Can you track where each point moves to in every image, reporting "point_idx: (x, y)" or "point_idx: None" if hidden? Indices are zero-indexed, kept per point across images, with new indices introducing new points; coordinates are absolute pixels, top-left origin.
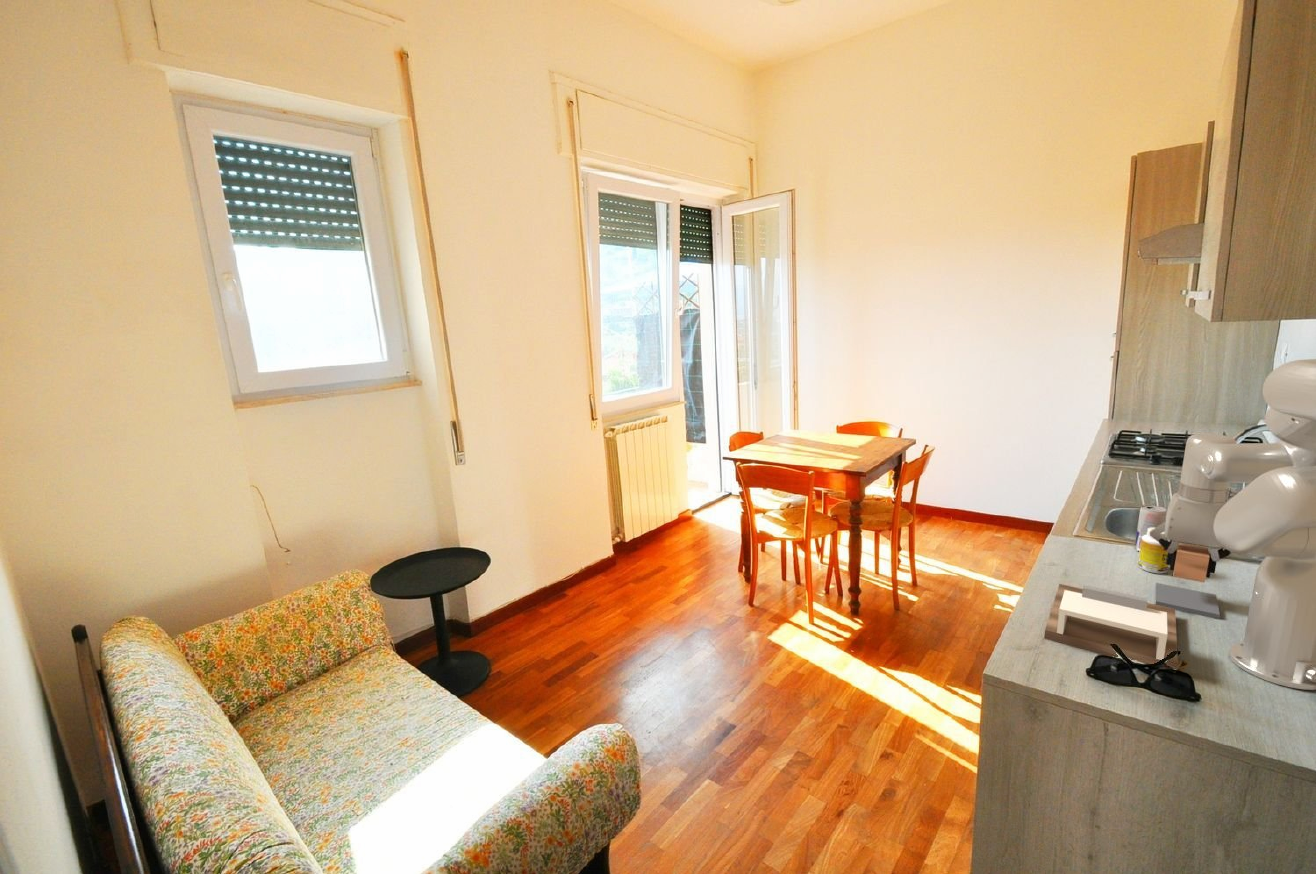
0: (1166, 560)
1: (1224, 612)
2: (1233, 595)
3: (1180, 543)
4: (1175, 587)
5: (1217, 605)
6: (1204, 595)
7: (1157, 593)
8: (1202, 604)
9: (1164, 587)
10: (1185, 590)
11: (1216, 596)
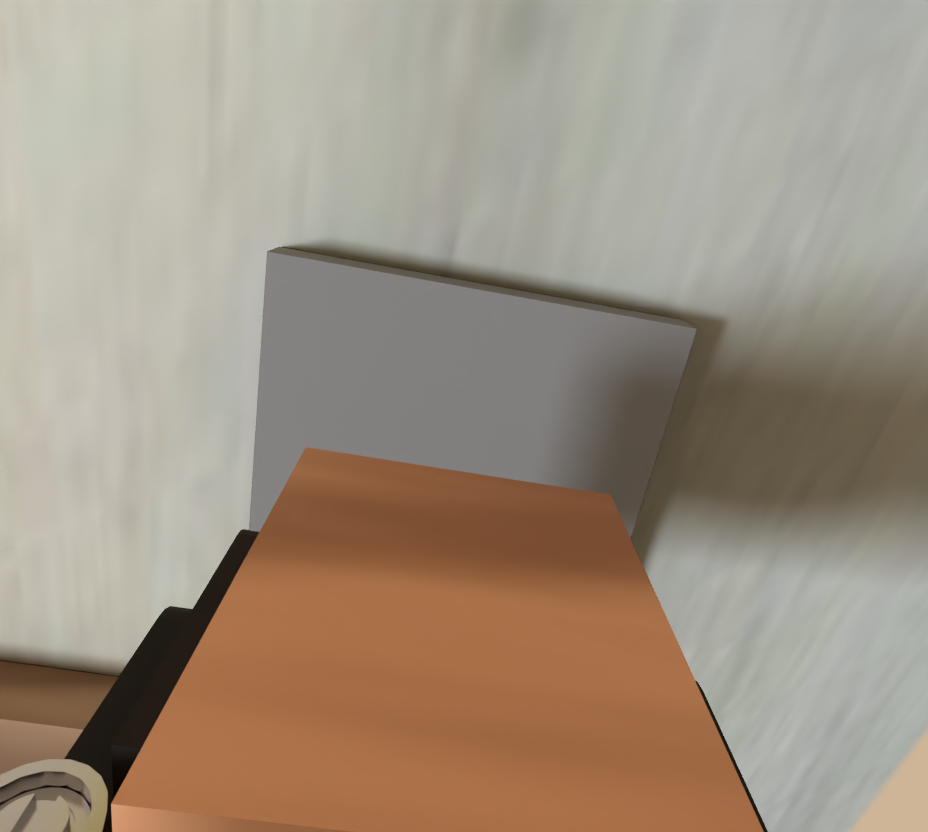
0: (159, 626)
1: (654, 533)
2: (861, 179)
3: (192, 826)
4: (410, 300)
5: (628, 531)
6: (597, 383)
7: (261, 481)
8: None
9: (323, 337)
10: (476, 338)
11: (684, 368)
